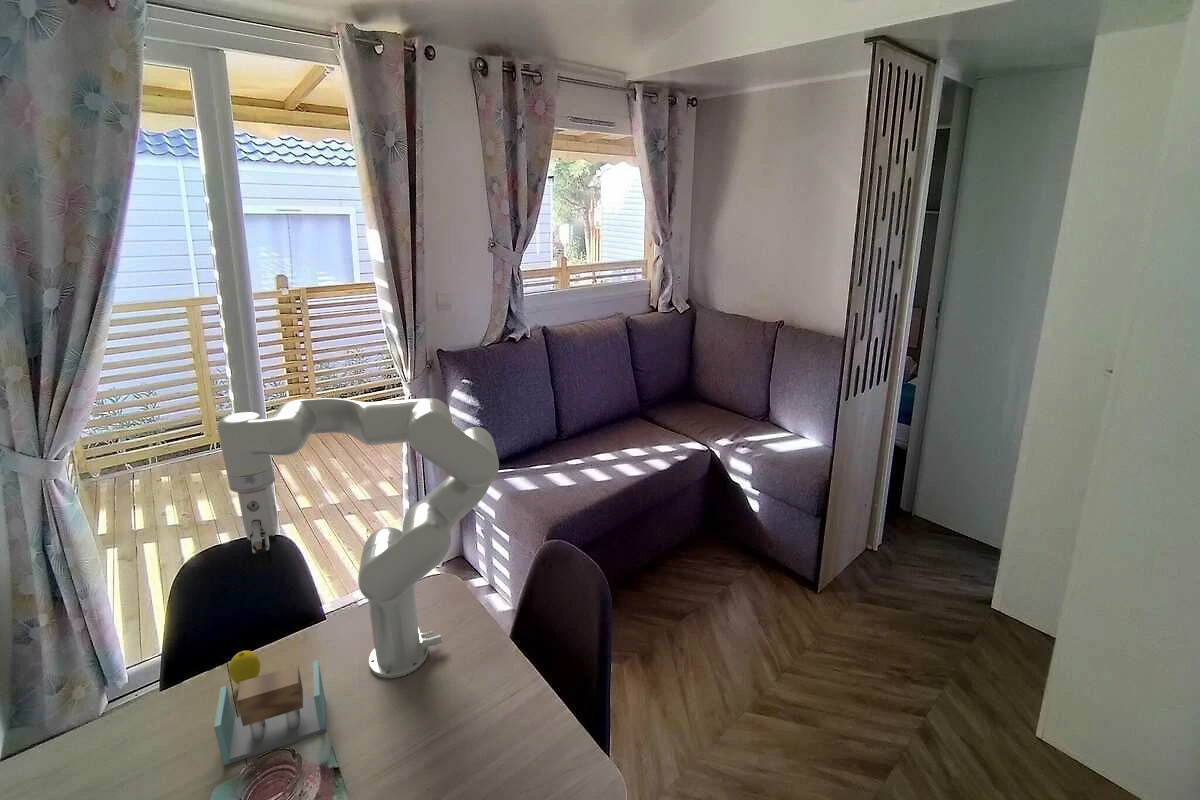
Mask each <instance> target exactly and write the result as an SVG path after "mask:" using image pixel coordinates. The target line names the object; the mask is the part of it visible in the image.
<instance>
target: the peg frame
mask: <svg viewBox="0 0 1200 800" xmlns="http://www.w3.org/2000/svg"><path fill="white" fill-rule="evenodd" d="M312 669H313V670H312V673H313V674H312V677H313V683H312V684H313V694H311V695H307V696H303V708H301V709H298V710H295V711H292V712H288V713H285V714H282V715H279V716H275V717H272V718H269V719H266V720H263V721H259V722H256V723H253V724H250V725H246V726H243V724H242V720H241V716H238V717H235V715H234V710H233V706H232V702H231V699H230V693H229V689H228V686H227V685H224V686H221V687H219V689H220V690H219V694H218V695H219V696H218V701H217V708H216V713H215V719H214V725H213V728H214V732H215V737H216V740H217V744H218V748H219V752H220V756H221V760H222V764H223V766H227V765H230V764H233V763H236V762H239V761H242V760H244V759H248V758H251V757H255V756H257V755H260V754H263V753H266V752H268V751H273V750H276V749H278V748H279V749H280V748H281V747H284V746H288V745H290V744H294V743H297V742H300V741H302V740H306V739H309V738H312V737H315V736H318V735H321V734H325V733H326V732H327V721H326V718H327V717H326V699H325V690H324V686H323V679H322V673H321V667H320V662H319V659H317V660H313V661H312Z"/></svg>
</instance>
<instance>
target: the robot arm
mask: <svg viewBox="0 0 1200 800" xmlns="http://www.w3.org/2000/svg"><path fill="white" fill-rule="evenodd" d="M330 433H332V434H333V433H335V434H336V433H337V434H345V435H348V436H351V437H353V438H355V439H356V440H358V441H360V443H362V444H365V445H366V446H379V445H391V444H401V443H408V444H409V445H410V447H412V448H413V450H414V451H415V452H417V454H419V455H420V456H422V457H423V458H424V459H426V460H427V461H428V462H430V463H431V464H433V465H434V466H435V467H437V468H438V469H440V470H442V471H443V472H444V473H446V474H448V476H447V477H446V478H445V479H444V480H442V482H441V483H440V484H439V485H437V486H436V487H435V488H434V489H432V490H431V491H430V492H429V493H427V494H426V495H425V496H423V497H422V498H421V499H420V500H418V501H417V502H416V503H415V504H413V505H412V506H411V507H409V509H408V510H407V512H406V513H405V515H404V517H403V522H402V531H401V530H400V529H398V528H396V527H382V528H381V527H380V528H379V529H377V530H375V531H374V532H372V533H371V535H369V536H368V538H367V539H366V541H365V543H364V544H363V548H362V553H361V557H360V558H361V559H360V564H359V571H358V576H357V578H358V581H357V583H358V588H359V591H360V593H361V594H362V595H363V596H364V598H366V599H367V600H368V601H367V602H368V609H369V616H370V624H371V630H372V632H371V633H372V639H373V646H374V649H372V651H371V653H370V655H369V658H368V667H369V669H370V672H372V673H373V674H374V675H376V676H377V677H379V678H384V679H397V677H398V678H401V676H402V677H406V676H407V674H408V675H410V674H412V673H414V672H415V671H416V670H418V669H419V668H420V667H421V666H422V665H423V664H424V663H425V662H424V661H426V660H427V658H428V656H427V654H428V655H429V648H428V647H431V646H432V647H433V646H437V645H439V644H440V645H441V644H442V643H443V641H442V636H441V634H437V635H435V634H434V630H430V631H427V632H424V633H423V632H421V631H420V627H419V621H418V612H417V602H416V592H415V585H416V583H418V582H419V581H420V580H422V579H423V578H424V577H425V576H426V575H428V573H430V572H431V571H432V570H433V569H435V568H436V567H437V566H438V565H440V564H441V562H442V561H443V560H444V559H445V557H446V556H447V554H448V553H449V551H450V548H451V544H452V529H453V527H454V526H456V524H457V523H458V522H460V521H461V520H462V519H463V518H464V517H466V516H467V514H468V513H470V511H472V510H473V509H474V508H475V507H476V506H477V505H478V504H479V503H480V502H481V500H483V498H484V497H485V496H486V494H487V492H488V490H489V488H490V486H491V484H492V482H493V481H494V480H495V478H496V477H497V475H498V472H499V469H500V461H499V457H498V456H499V455H498V453H497V447H496V445H495V444H496V443H495V441H494V438H493V436H492V435H491V433H490V432H489V431H488V430H487V429H485V428H482V427H480V426H473V427H469V428H467V429H465V430H461V429H460V428H459V427H458V426H457V425H456V424H454V423H453V417H452V414H451V411H450V408H449V407H448V406H447V404H446V403H445V402H443V401H442V400H440V399H438V398H432V397H429V398H428V397H426V398H425V397H423V398H409V399H396V400H395V399H393V400H381V401H380V400H379V401H366V402H365V401H361V400H354V399H344V398H340V397H339V398H337V397H335V398H334V397H330V398H329V397H326V398H325V397H324V398H323V397H322V398H320V397H319V398H305V399H297V400H290V401H288V402H285V403H283V404H281V405H280V406H279V407H278V408H277V409H276V410H275V411H274V413H273V414H272V415H270V416H269V417H267V418H264V417H263V416H262V415H261V414H259V413H258V412H254V411H253V412H252V411H251V412H250V411H241V412H235V413H231V414H229V415H226V416H223V417H222V418H221V419H219V420H218V423H217V435H218V437H219V443H220V447H221V452H222V455H223V456H222V457H223V461H224V462H223V463H224V467H225V471H226V476H227V480H228V485H229V489H230V491H231V492H233V493H237V496H238V501H239V502H238V503H239V507H240V513H241V519H242V522H243V527H244V531H245V534H246V538H247V540H249V541H250V542H251V549H252V551H251V554H252V559H253V560H252V561H253V565H254V569H255V570H256V571H261V570H266V569H270V568H274V567H275V559H274V556H273V549H272V547H271V546H270V544H272V543H276V542H277V537H276V534H277V529H278V517H279V516H278V510H277V507H276V501H275V498H274V493H273V489H272V485H273V484H274V483H275V481H276V479H275V473H274V468H273V463H272V462H273V461H272V457H271V456H290V455H293V454H296V453H298V452H299V451H301V449H303V448H304V446H305V445H306V442H308V439H309V437H310V435H316V434H330ZM426 657H427V658H426ZM425 659H426V660H425ZM423 662H424V663H423ZM422 663H423V664H422ZM421 664H422V665H421ZM420 665H421V666H420ZM419 666H420V667H419ZM418 667H419V668H418ZM417 668H418V669H417ZM415 669H416V670H415ZM414 670H415V671H414ZM413 671H414V672H413ZM411 672H412V673H411Z"/></svg>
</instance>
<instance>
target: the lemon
mask: <svg viewBox="0 0 1200 800" xmlns="http://www.w3.org/2000/svg"><path fill="white" fill-rule="evenodd" d="M228 669H229V670H228V672H229V676H230V678H231V680H232V681H233V682H234V683H235V684H238V685H239V682H241V681H244V680H248V679H251V678H255V677H258V676H259V674H260V671H261V662H260V659H259V657H258V655H257V654H256V653H255V652H253V651H252V650H242V651H239V652H237V653H236V654H235V655H233V657H232V658H231V660H230V662H229V667H228Z"/></svg>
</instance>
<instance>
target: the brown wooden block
mask: <svg viewBox="0 0 1200 800" xmlns="http://www.w3.org/2000/svg"><path fill="white" fill-rule="evenodd" d="M300 673H301V672H300V668H299V665H294V666H291V667H288V668H284V669H280V670H276V671H274V672H273V671H272V672H270V673H266V674H261V675H260V676H259V675H258V676H257V677H255V678H251V679H248V680H244V681H241V682H239V684H238V690H237V696H236V697H237V699H236V702H237V706H238V711H239V715H240V716H239V717H241V720H242V724H243V726H246V725H250V724H253V723H256V722H259V721H263V720H266V719H269V718H272V717H275V716H279V715H282V714H285V713H288V712H292V711H295V710H298V709H301V708H303V698H304V688H303V683H302V679H301V674H300Z"/></svg>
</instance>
